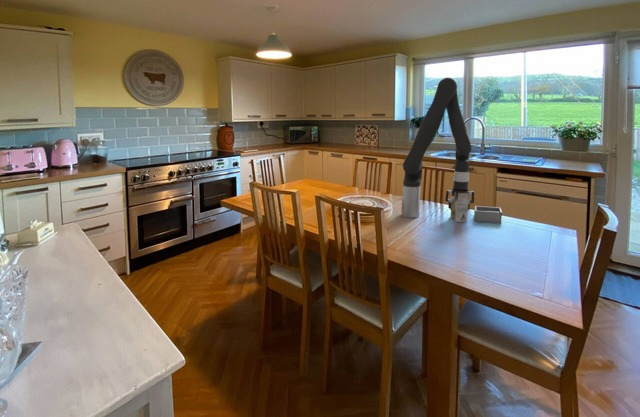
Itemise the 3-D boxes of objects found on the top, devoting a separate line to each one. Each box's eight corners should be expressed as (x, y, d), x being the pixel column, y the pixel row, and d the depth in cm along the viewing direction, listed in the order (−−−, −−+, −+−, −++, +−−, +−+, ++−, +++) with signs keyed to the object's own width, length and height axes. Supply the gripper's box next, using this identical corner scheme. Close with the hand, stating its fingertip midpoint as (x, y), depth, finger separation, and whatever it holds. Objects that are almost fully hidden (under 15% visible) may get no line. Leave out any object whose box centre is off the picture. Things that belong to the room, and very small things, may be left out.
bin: (474, 221, 201) (475, 210, 199) (473, 216, 210) (474, 205, 208) (500, 223, 196) (502, 212, 195) (499, 218, 206) (500, 207, 204)
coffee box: (449, 217, 210) (451, 188, 205) (461, 216, 210) (463, 188, 205) (455, 222, 201) (457, 192, 197) (467, 221, 201) (470, 192, 196)
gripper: (446, 180, 199) (444, 210, 203) (475, 181, 194) (473, 212, 198) (447, 177, 205) (445, 207, 210) (475, 179, 201) (472, 208, 205)
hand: (458, 209), depth 204 cm, fingers open, 8 cm apart
